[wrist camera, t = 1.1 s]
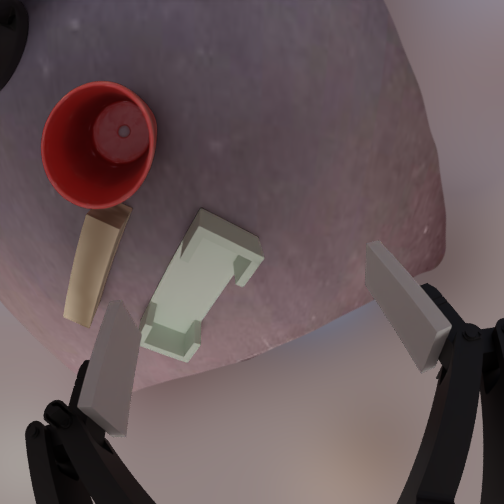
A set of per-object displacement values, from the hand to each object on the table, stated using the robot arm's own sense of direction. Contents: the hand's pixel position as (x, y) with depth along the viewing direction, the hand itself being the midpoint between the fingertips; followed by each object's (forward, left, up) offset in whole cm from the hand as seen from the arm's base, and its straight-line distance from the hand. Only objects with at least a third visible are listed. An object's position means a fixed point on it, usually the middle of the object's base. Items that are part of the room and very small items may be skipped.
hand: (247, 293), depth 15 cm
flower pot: (-13, -1, -21) cm, 25 cm away
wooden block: (-10, -17, -21) cm, 28 cm away
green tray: (+3, -15, -21) cm, 25 cm away
